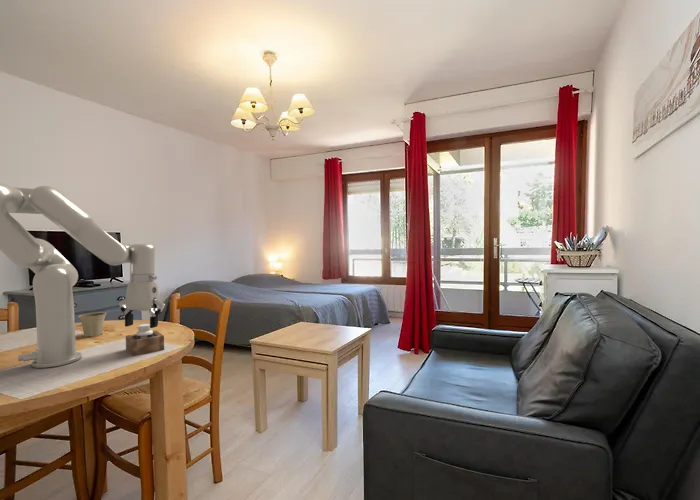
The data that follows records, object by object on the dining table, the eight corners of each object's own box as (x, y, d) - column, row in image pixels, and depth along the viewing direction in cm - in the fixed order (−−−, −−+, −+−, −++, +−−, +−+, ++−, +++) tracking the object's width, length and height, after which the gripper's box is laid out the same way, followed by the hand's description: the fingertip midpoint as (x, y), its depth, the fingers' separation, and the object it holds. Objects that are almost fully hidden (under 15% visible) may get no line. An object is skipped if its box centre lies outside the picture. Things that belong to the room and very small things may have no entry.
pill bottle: (140, 353, 123) (139, 327, 123) (133, 350, 126) (133, 325, 126) (156, 349, 127) (155, 324, 127) (149, 346, 130) (148, 322, 130)
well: (132, 356, 120) (131, 341, 120) (126, 349, 127) (125, 335, 127) (164, 349, 126) (163, 335, 126) (156, 343, 134) (156, 330, 134)
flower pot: (73, 337, 144) (72, 316, 144) (96, 331, 153) (95, 311, 153) (90, 338, 142) (89, 317, 141) (112, 332, 151) (111, 312, 150)
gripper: (171, 278, 128) (170, 325, 129) (128, 276, 131) (127, 323, 131) (157, 280, 121) (156, 330, 121) (111, 278, 123) (111, 327, 124)
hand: (141, 326), depth 126 cm, fingers open, 9 cm apart
